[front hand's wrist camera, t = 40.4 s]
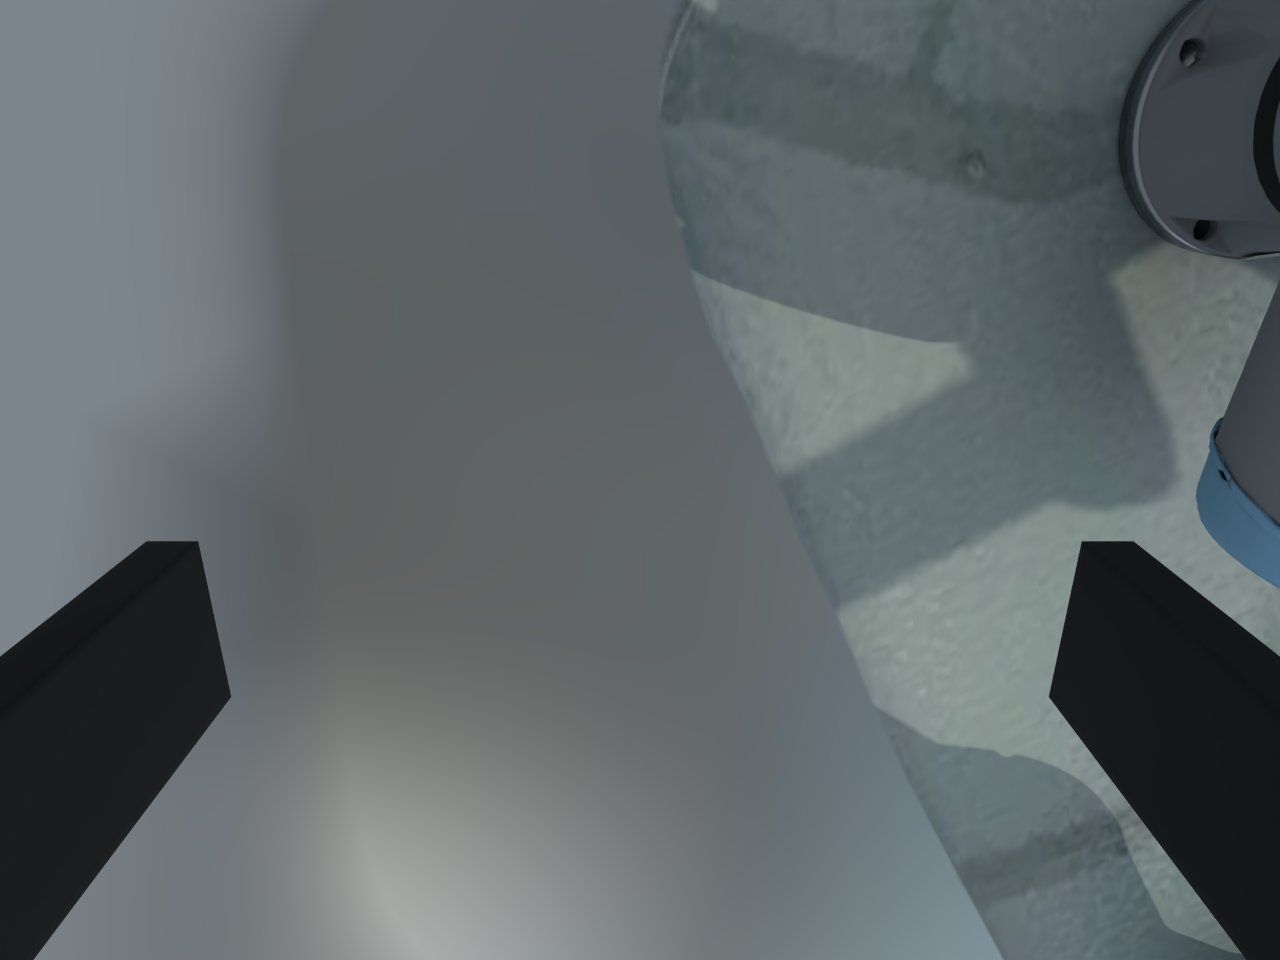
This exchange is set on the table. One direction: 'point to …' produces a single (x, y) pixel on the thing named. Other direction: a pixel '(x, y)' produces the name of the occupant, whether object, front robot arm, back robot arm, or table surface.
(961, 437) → the table surface
